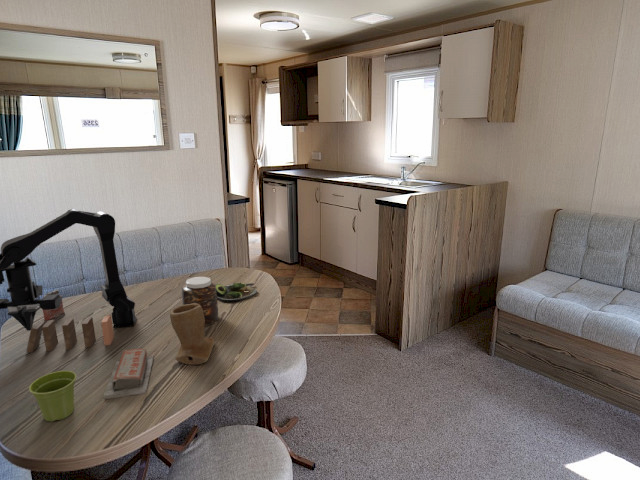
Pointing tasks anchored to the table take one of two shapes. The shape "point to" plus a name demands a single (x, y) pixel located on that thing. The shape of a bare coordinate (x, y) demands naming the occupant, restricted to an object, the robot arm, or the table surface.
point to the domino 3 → (69, 333)
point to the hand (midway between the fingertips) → (29, 329)
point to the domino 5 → (107, 330)
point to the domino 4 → (88, 331)
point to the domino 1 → (35, 336)
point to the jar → (202, 297)
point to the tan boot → (191, 334)
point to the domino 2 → (50, 335)
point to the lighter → (53, 310)
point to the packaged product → (130, 374)
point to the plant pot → (55, 394)
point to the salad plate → (233, 292)
